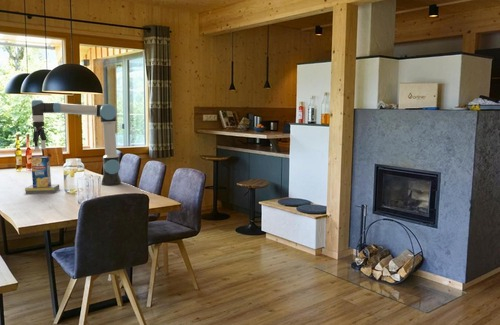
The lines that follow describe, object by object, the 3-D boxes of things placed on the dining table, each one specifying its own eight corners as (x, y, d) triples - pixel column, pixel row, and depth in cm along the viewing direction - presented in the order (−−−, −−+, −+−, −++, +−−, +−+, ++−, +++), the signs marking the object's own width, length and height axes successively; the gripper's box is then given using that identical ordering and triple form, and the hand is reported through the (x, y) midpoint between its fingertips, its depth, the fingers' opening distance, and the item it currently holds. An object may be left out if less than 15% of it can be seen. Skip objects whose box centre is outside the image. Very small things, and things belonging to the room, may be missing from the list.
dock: (59, 189, 341) (59, 184, 341) (53, 193, 328) (53, 187, 327) (32, 190, 339) (31, 184, 338) (25, 193, 326) (24, 188, 325)
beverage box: (48, 186, 330) (46, 157, 327) (32, 187, 329) (30, 157, 326) (51, 185, 337) (49, 156, 334) (36, 185, 336) (34, 156, 333)
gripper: (39, 120, 338) (41, 148, 341) (26, 122, 314) (28, 151, 317) (49, 120, 339) (51, 148, 342) (37, 121, 315) (39, 151, 318)
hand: (40, 150), depth 329 cm, fingers open, 13 cm apart
